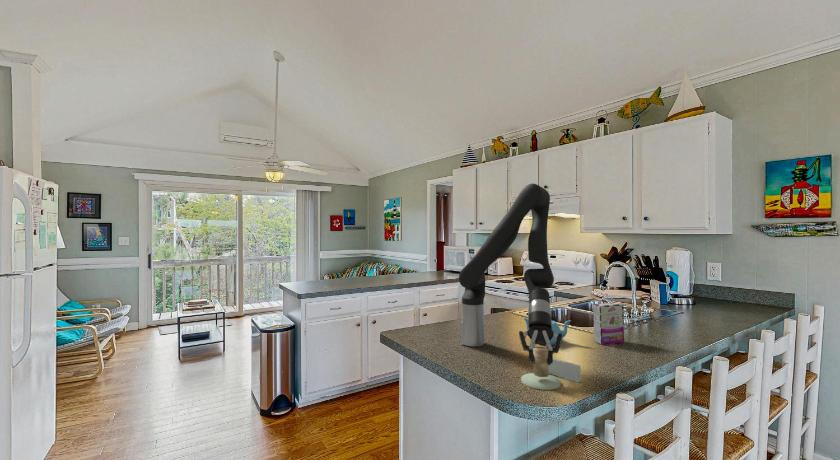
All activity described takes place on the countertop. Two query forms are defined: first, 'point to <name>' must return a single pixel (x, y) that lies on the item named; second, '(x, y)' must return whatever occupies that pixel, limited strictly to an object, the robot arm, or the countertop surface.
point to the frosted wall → (565, 370)
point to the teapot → (554, 330)
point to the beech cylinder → (540, 361)
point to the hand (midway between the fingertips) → (540, 363)
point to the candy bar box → (608, 323)
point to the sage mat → (540, 382)
